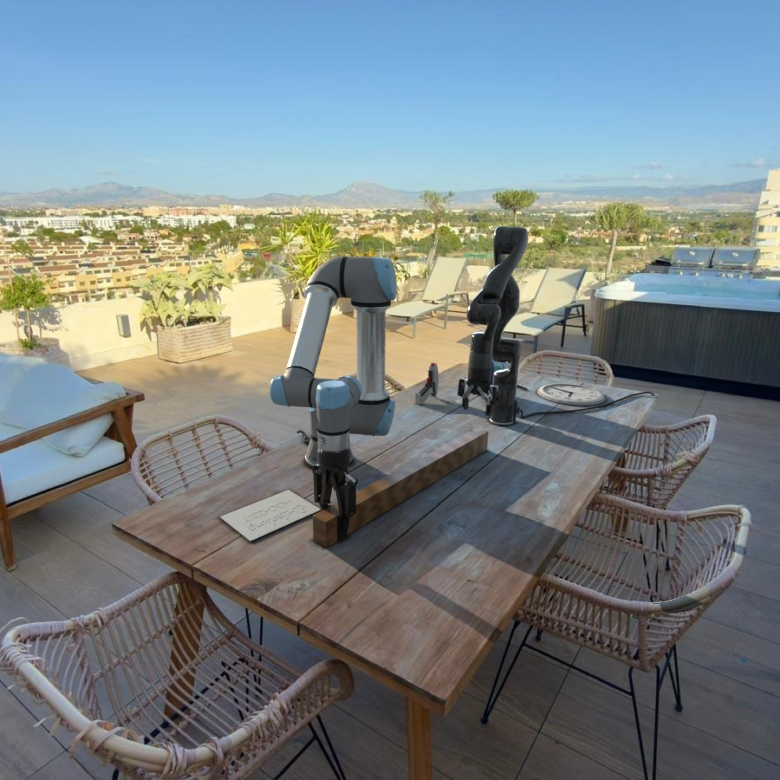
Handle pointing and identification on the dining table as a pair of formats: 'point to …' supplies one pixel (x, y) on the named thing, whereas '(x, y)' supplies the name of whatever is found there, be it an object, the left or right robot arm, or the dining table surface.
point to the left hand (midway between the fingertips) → (335, 534)
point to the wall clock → (571, 394)
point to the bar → (400, 485)
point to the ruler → (521, 387)
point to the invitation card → (269, 514)
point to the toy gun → (429, 385)
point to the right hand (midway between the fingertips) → (476, 412)
